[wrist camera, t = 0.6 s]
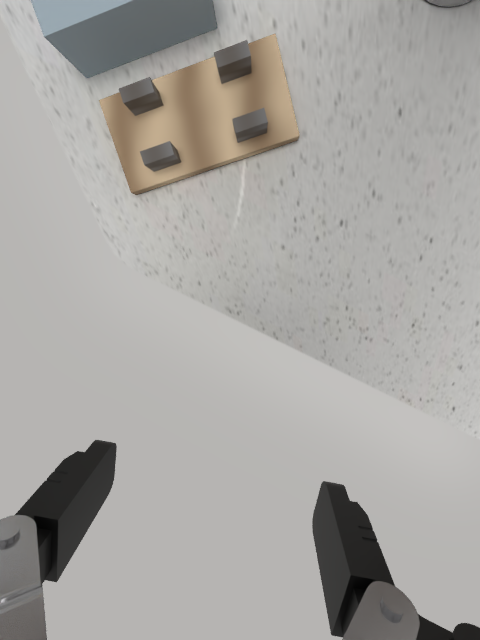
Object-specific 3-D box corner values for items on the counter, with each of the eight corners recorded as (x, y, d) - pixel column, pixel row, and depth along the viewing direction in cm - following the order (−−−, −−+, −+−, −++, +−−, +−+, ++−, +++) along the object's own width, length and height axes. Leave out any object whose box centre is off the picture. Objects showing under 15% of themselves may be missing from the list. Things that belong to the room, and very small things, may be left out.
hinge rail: (274, 43, 32) (277, 11, 27) (297, 140, 34) (303, 124, 29) (105, 106, 34) (83, 86, 29) (136, 194, 36) (119, 188, 31)
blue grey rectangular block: (208, -7, 31) (194, -77, 24) (217, 29, 32) (206, -30, 25) (76, 46, 33) (28, -6, 26) (87, 79, 33) (43, 36, 27)
